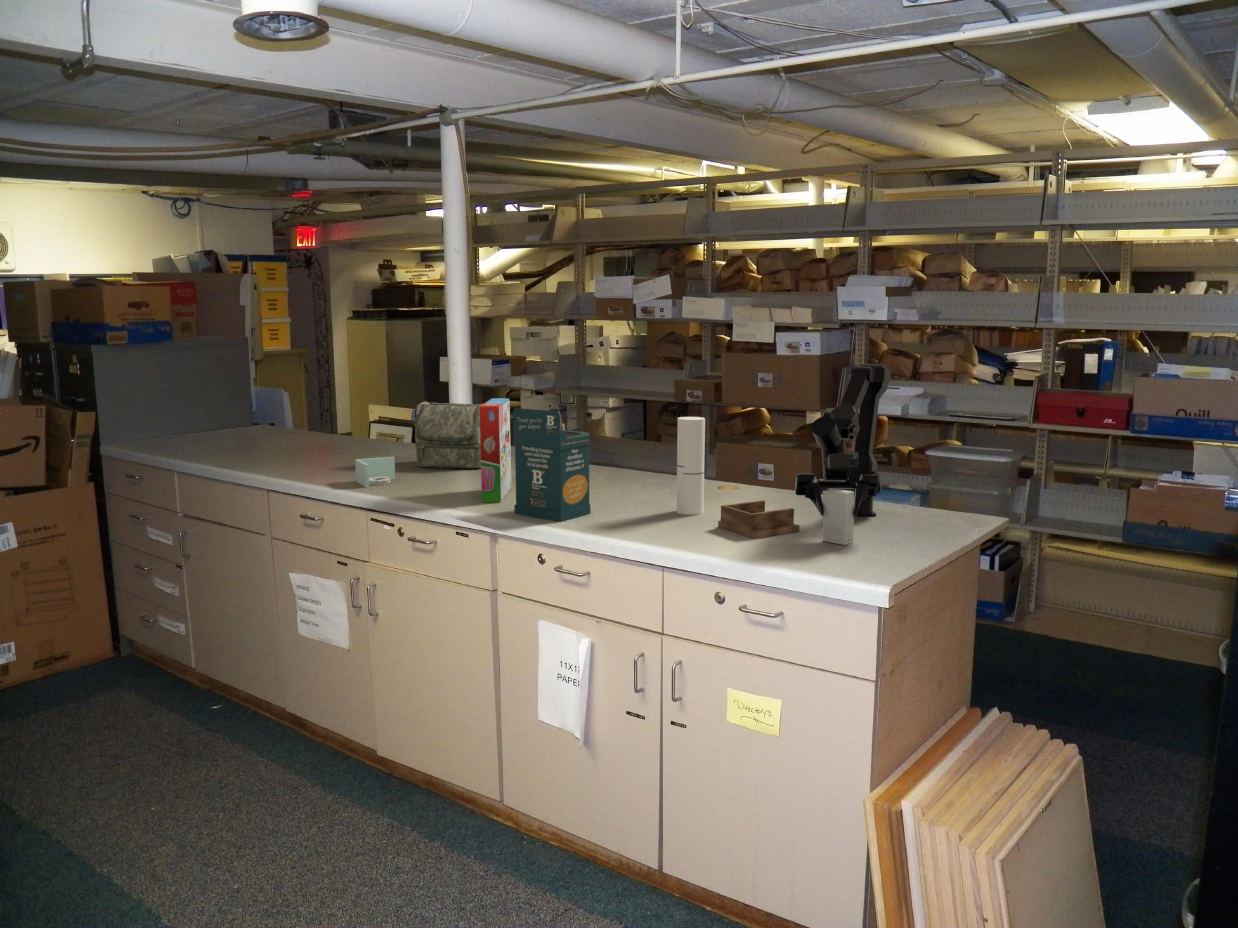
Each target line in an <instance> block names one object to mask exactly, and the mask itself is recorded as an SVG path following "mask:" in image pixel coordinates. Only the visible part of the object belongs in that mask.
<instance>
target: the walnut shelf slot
mask: <svg viewBox="0 0 1238 928" xmlns="http://www.w3.org/2000/svg"><path fill="white" fill-rule="evenodd" d="M794 518H795V508H792V507H791V508H789V507H788V508H783V509H775V510H768V511H766V501H765V500H763V499H761V500H754V501H747V502H739V503H738V502H737V503H731V504H723V505H720V520H717V527H718V528H721V529H725V530H728V531H730V532H733V533H737V534H739V535H742V536H745V537H747V538H748V537H749V538H751V539H759V538H765V537H771V536H778V535H784V534H791V533H797V532H800V527H801V526H800V524H796V523H795V521H794Z"/></svg>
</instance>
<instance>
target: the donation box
mask: <svg viewBox="0 0 1238 928" xmlns="http://www.w3.org/2000/svg"><path fill="white" fill-rule="evenodd" d="M512 417H513V418H512V419H513V420H512V421H513V423H512V426H513V427H512V429H513V430H512V431H513V432H512V434H513V435H512V437H513V438H512V440H513V445H514V453H515V454H514V458H515V459H514V462H515V504H514V505H513V506H514V507H513V508H514V509H513V510H514V514H515V515H520V516H527V517H531V518H537V519H542V520H550V521H554V522H560V523H562V522H566V521H570V520H574V519H578V518H580V517H581V518H582V517H585V516H588V515H591V504H590V445H591V435H590V433H589V432H587V431H580V430H579V431H578V430H569V429H561V426H562V425H561V422H562V421H561V419H562V418H561V414H560V412H559V411H556V410H554V411H553V410H544V409H534V408H533V409H531V408H523V407H520V408H519V407H516V408H514V409H513V410H512Z"/></svg>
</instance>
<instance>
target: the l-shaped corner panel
mask: <svg viewBox="0 0 1238 928" xmlns="http://www.w3.org/2000/svg"><path fill="white" fill-rule="evenodd" d="M395 460H396V459H395V456H383V457H382V456H381V457H372V458H371V457H369V458H368V457H367V458H357V459H355V460H354V462H355V479H356V481H357V482H356V483H358V484H359V483H360V485H361V486H362V485H363V487H364V488H366V489H369V488H370V486H386V485H388V484H391V483H392V481H391V480H396V468H395V467H396V466H395V465H396V464H395V463H396V461H395Z"/></svg>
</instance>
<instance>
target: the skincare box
mask: <svg viewBox="0 0 1238 928" xmlns="http://www.w3.org/2000/svg"><path fill="white" fill-rule="evenodd" d="M822 503H823V509H824V515H823V516H822V541H823V542H826V543H831V544H837V545H844V546H846V545H849V544H852V543H854V528H855V527H854V526H855V525H854V522H855V521H854V520H855V519H854V492H853V491H851V490H844V489H828V488H827V489H826V490H825V489H824V490H823V491H822Z"/></svg>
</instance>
